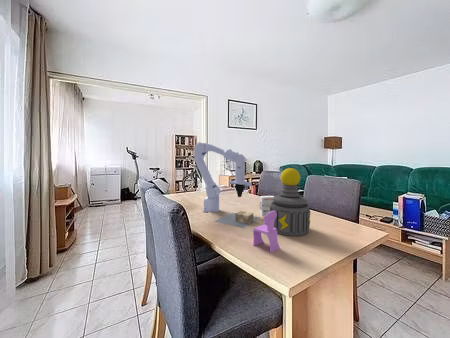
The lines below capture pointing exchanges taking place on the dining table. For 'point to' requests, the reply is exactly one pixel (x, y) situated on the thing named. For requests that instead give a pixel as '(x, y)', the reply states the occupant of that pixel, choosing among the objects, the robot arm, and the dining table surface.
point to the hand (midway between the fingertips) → (239, 196)
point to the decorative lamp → (291, 207)
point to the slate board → (234, 220)
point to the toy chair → (267, 231)
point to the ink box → (265, 204)
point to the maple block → (244, 217)
